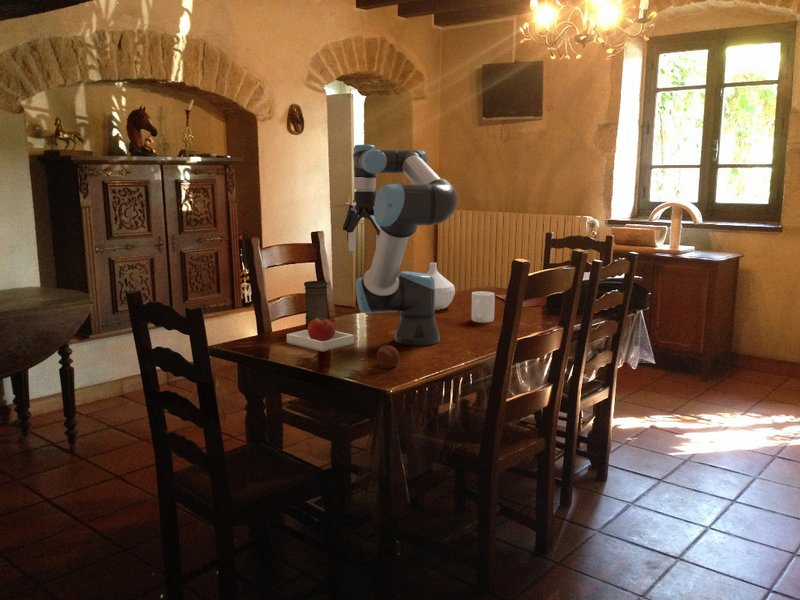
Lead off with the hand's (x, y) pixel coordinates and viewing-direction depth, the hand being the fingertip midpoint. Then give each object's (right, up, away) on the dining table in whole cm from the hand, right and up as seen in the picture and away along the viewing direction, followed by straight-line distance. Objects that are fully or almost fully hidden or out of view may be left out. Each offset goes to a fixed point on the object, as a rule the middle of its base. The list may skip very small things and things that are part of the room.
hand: (365, 252), depth 246 cm
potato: (+8, -36, -39) cm, 54 cm away
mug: (+43, -25, +23) cm, 55 cm away
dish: (-15, -31, -11) cm, 36 cm away
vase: (+26, -20, +50) cm, 60 cm away
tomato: (-14, -31, -11) cm, 35 cm away
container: (-18, -28, +6) cm, 34 cm away
